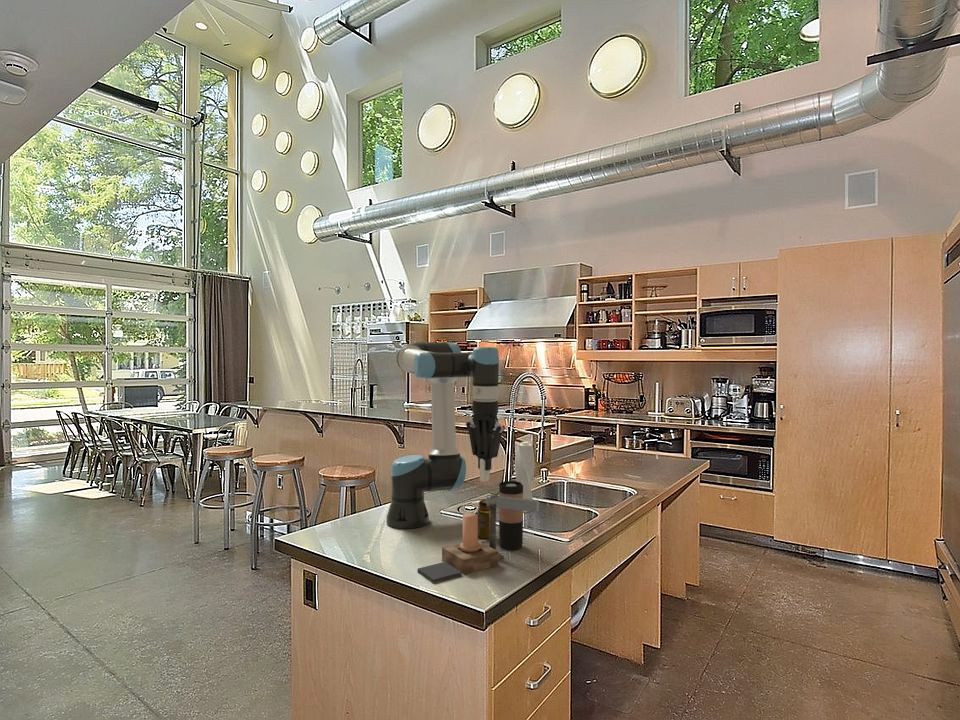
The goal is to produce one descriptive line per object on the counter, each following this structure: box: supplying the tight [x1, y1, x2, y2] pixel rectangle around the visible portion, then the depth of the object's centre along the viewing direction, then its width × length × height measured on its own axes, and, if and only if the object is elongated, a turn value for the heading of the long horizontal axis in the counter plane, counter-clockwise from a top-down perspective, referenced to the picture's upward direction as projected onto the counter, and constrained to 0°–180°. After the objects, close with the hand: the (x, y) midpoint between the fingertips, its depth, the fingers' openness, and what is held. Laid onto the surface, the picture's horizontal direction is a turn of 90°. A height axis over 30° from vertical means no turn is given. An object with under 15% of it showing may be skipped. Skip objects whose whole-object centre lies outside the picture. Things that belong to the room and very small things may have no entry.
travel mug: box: [498, 480, 524, 552], centre depth 181 cm, size 8×8×20 cm
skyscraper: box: [514, 438, 536, 515], centre depth 219 cm, size 8×8×28 cm
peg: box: [460, 512, 480, 554], centre depth 167 cm, size 6×6×14 cm
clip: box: [486, 494, 540, 513], centre depth 169 cm, size 4×16×3 cm, turn 68°
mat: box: [417, 561, 463, 584], centre depth 159 cm, size 9×9×1 cm
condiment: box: [477, 498, 499, 543], centre depth 189 cm, size 7×8×12 cm
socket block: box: [441, 507, 505, 575], centre depth 168 cm, size 12×16×15 cm
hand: (484, 480), depth 167 cm, fingers closed
